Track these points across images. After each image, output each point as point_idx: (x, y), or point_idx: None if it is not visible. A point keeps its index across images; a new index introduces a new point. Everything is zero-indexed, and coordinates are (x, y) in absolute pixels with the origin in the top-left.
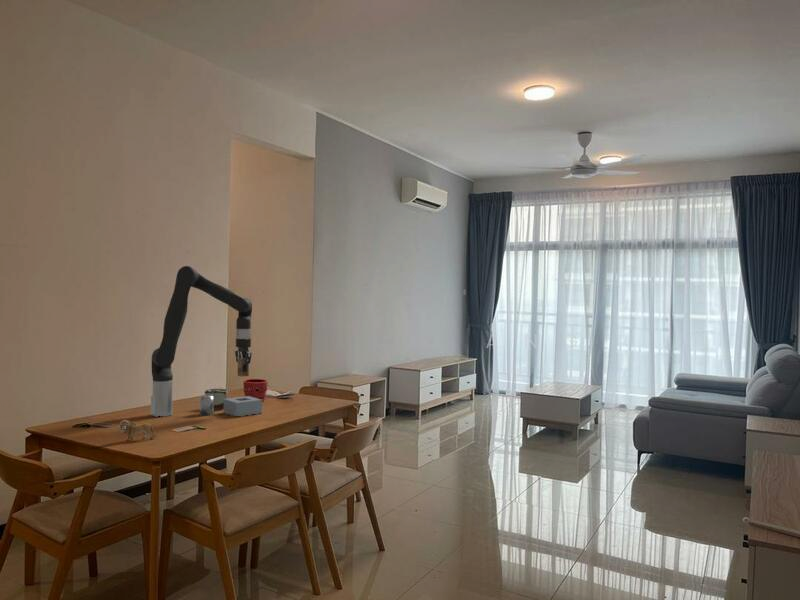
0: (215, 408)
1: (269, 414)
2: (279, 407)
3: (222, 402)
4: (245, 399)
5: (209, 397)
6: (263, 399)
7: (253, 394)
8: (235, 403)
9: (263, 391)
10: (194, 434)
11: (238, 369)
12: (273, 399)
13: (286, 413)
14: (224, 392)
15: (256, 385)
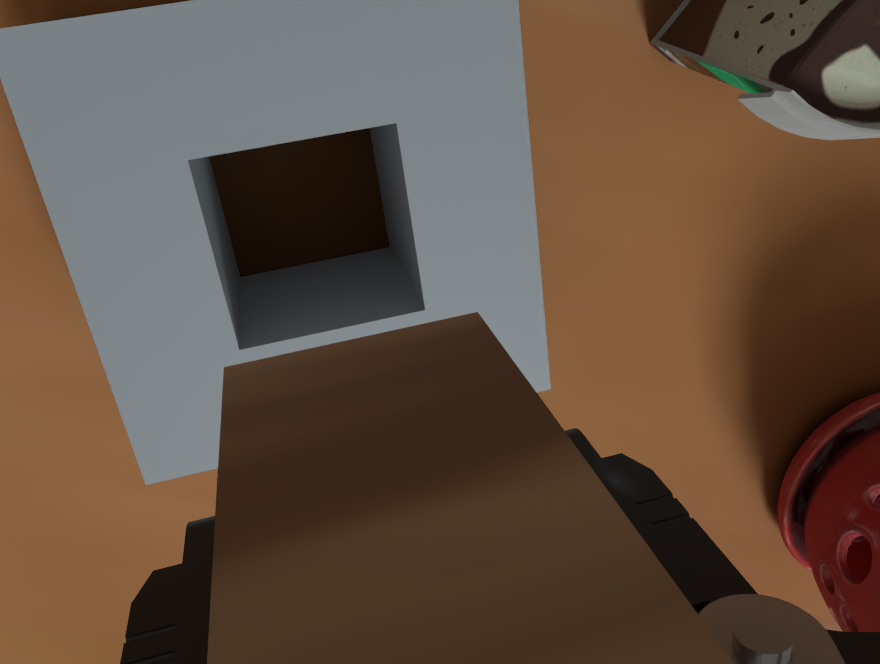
0: None
1: (78, 451)
2: None
3: (719, 27)
4: (418, 301)
5: None
6: (788, 549)
7: (844, 492)
8: (29, 24)
9: (831, 607)
10: None
11: (478, 428)
12: (827, 628)
13: (65, 615)
14: (794, 65)
15: None
